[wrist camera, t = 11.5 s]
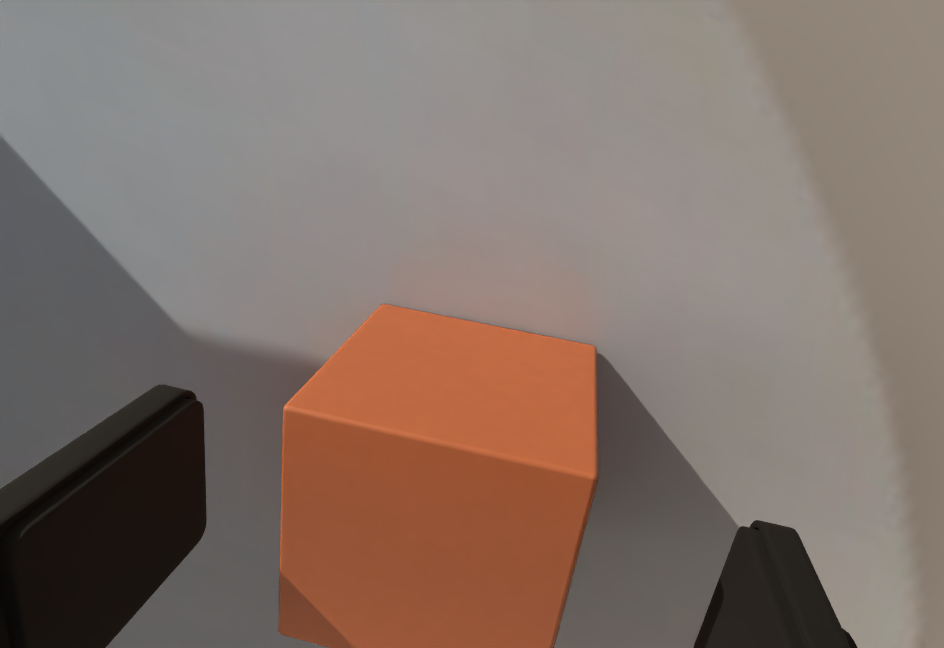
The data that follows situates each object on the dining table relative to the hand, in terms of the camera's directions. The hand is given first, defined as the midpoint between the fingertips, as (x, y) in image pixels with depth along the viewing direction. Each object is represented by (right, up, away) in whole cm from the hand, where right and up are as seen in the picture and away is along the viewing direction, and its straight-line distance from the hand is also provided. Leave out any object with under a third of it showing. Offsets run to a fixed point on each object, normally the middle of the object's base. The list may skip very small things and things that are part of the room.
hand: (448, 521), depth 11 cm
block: (0, +1, +3) cm, 3 cm away
